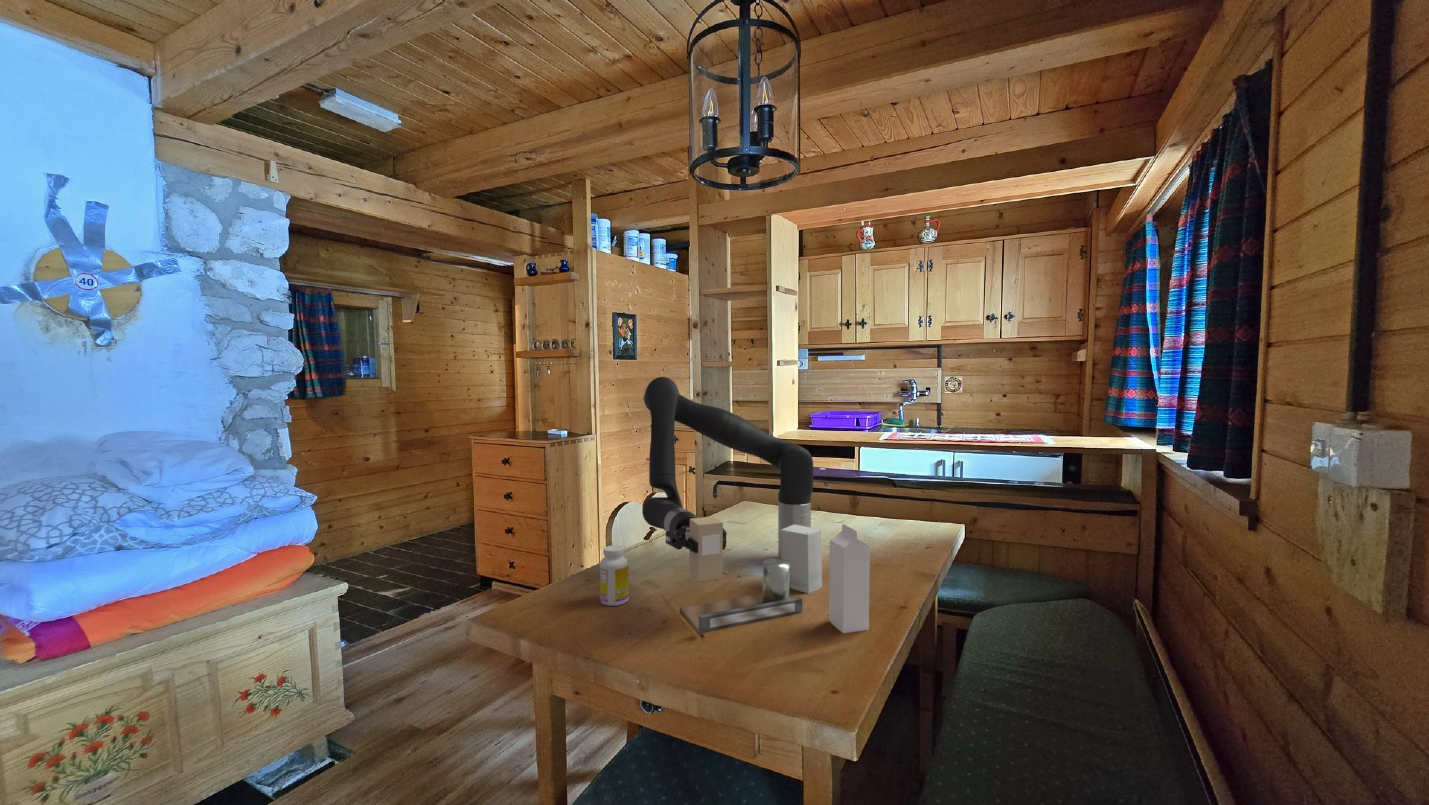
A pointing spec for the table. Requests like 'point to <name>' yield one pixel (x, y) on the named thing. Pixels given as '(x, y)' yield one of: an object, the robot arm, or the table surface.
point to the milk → (849, 581)
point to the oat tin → (775, 580)
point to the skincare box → (802, 557)
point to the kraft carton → (706, 548)
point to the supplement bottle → (614, 576)
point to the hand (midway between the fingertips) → (710, 546)
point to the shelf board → (737, 612)
